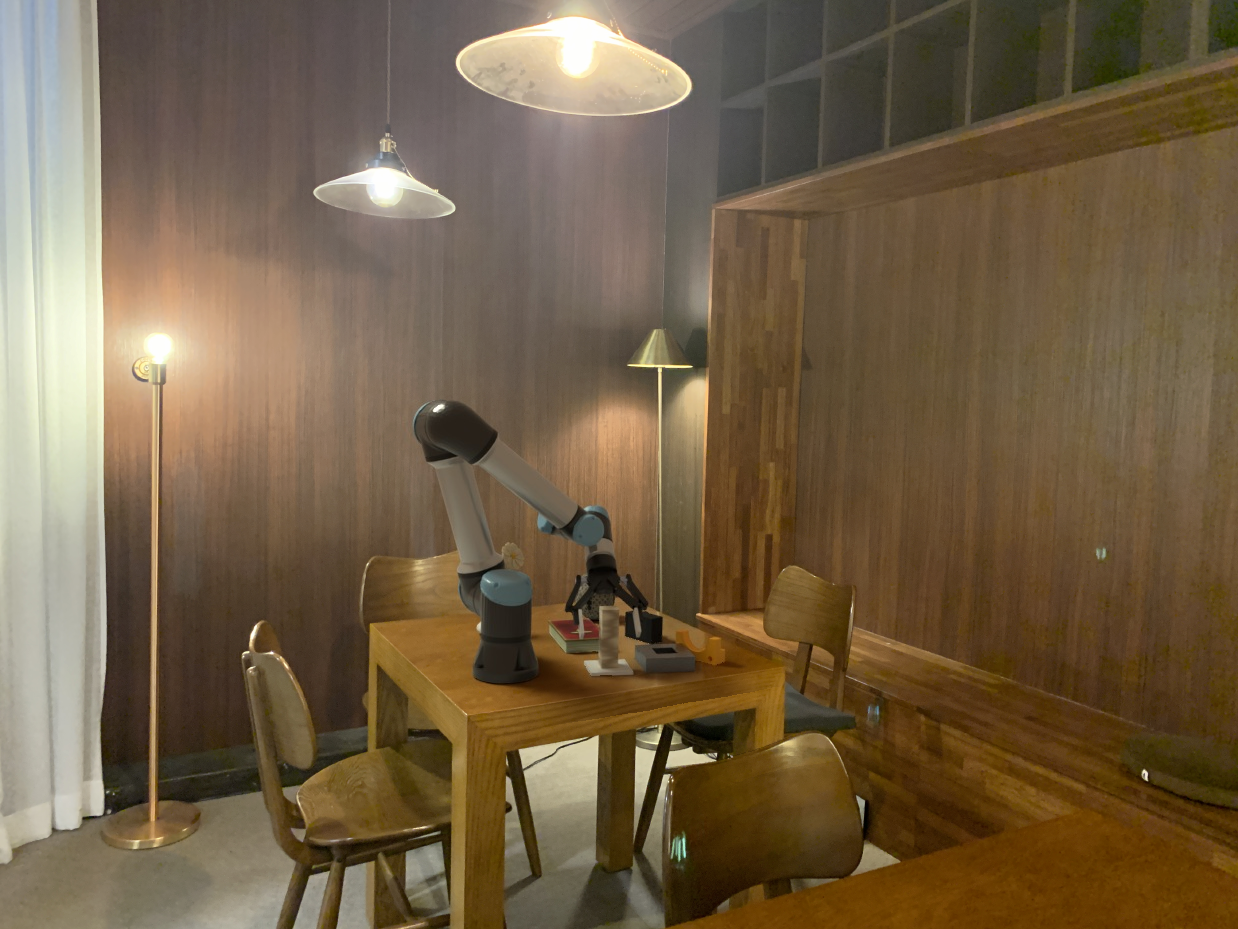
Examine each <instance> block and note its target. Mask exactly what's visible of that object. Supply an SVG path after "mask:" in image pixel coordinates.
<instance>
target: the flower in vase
mask: <svg viewBox="0 0 1238 929" xmlns="http://www.w3.org/2000/svg"><path fill="white" fill-rule="evenodd" d="M518 547H519V546H518V545H517V543H516V544H515V543H514V542H511V543H510V541H509V542H508V541H507V543H505V545H504V546H502V547H501V555H502V556H503V559H504V562H505V566H506V569H507V568H509V570H515V571H519V569H520V567H521V568H522V567H523V565H524V564H525V562H524V561H525V560H526V558H525V557H524V553H523V552H522V549H521V548H518ZM476 632H478V633H479V634H481V621H480V622H478V624H477V625H476Z"/></svg>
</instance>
